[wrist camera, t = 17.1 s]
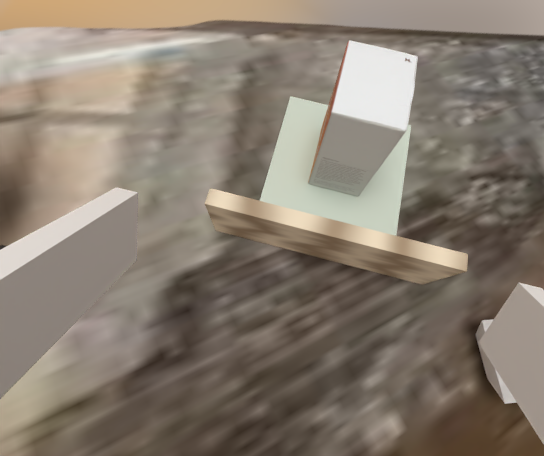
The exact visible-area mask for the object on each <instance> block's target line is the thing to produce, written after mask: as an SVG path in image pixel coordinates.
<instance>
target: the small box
mask: <svg viewBox="0 0 544 456" xmlns="http://www.w3.org/2000/svg"><path fill="white" fill-rule="evenodd" d="M417 59H418V57H417V56H414V55H411V54H407V53H403V52H399V51H395V50H390V49H386V48H382V47H377V46H372V45H368V44H364V43H359V42H354V41H348V43H347V46H346V50H345V53H344V57H343V60H342V63H341V66H340V70H339V73H338V76H337V80H336V83H335V86H334V89H333V93H332V96H331V99H330V102H329V106H328V109H327V112H326V115H325V118H324V121H323V124H322V128H321V132H320V137H319V142H318V146H317V150H316V154H315V158H314V162H313V166H312V170H311V174H310V177H309V181H308V183H309V184H311V185H315V186H319V187H323V188H327V189H331V190H335V191H338V192H342V193H346V194H350V195H354V196H359V195H360V194H361V192H362V191H363V190H364V188H365V187H366V185H367V184H368V183H369V181H370V180H371V179H372V177H373V176H374V174H375V173H376V172H377V171H378V169H379V168H380V166H381V165H382V164H383V162H384V161H385V160H386V158H387V157H388V155H389V154H390V153H391V151H392V150H393V148H394V147H395V146H396V145H397V143H398V142H399V140H400V139H401V138H402V136H403V135H404V134H405V132H406V131H407V127H408V121H409V116H410V109H411V103H412V98H413V94H414V86H415V75H416V66H417Z"/></svg>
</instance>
